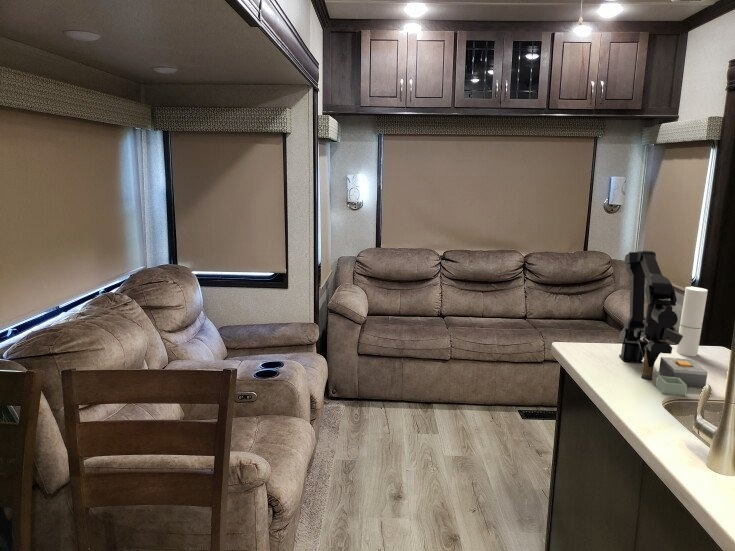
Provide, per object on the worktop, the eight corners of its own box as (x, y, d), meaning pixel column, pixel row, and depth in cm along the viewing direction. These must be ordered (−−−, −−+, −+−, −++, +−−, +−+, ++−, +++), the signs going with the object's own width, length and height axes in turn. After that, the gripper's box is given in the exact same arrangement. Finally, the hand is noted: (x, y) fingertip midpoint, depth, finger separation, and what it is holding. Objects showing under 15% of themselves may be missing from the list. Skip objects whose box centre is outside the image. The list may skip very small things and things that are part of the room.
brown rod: (643, 379, 185) (647, 347, 183) (640, 375, 188) (644, 344, 186) (653, 380, 185) (658, 348, 183) (650, 376, 188) (654, 345, 186)
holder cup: (663, 393, 174) (664, 383, 173) (656, 386, 180) (657, 375, 179) (685, 396, 173) (687, 385, 172) (677, 388, 179) (679, 377, 178)
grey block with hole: (671, 385, 181) (674, 369, 180) (658, 372, 192) (660, 356, 191) (704, 388, 179) (707, 372, 178) (689, 374, 191) (692, 359, 190)
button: (678, 374, 184) (680, 364, 183) (674, 370, 187) (676, 360, 187) (689, 375, 184) (691, 365, 183) (685, 371, 187) (687, 361, 186)
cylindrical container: (699, 353, 214) (709, 289, 209) (694, 357, 209) (705, 292, 204) (678, 348, 219) (688, 286, 214) (673, 352, 214) (683, 288, 209)
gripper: (693, 329, 172) (685, 377, 175) (671, 314, 190) (664, 357, 194) (654, 326, 174) (647, 374, 177) (636, 311, 192) (630, 355, 195)
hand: (648, 365), depth 186 cm, fingers closed on brown rod, 3 cm apart
